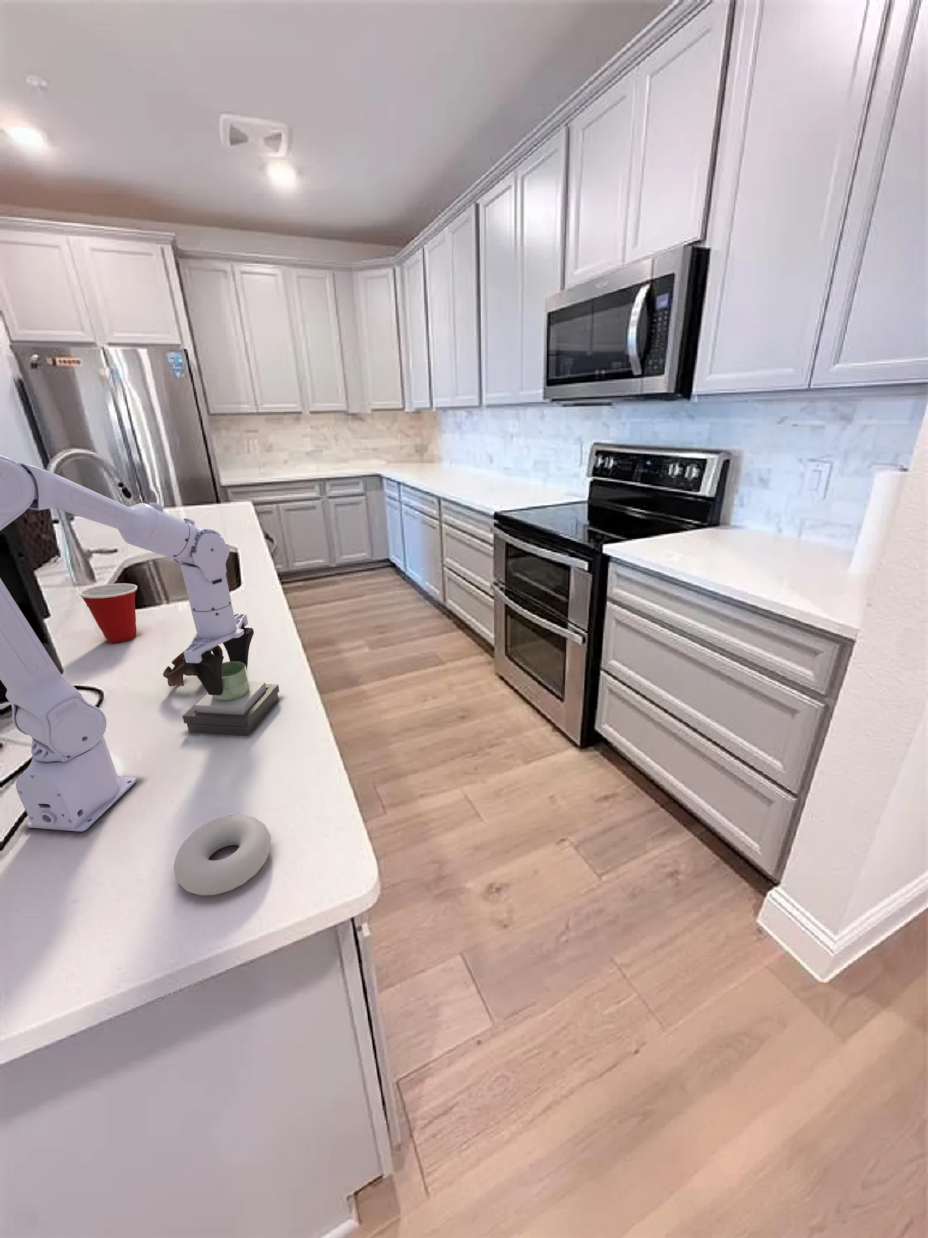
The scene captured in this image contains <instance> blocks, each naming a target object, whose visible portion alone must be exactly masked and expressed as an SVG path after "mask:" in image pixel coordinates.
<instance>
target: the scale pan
mask: <svg viewBox="0 0 928 1238" xmlns="http://www.w3.org/2000/svg"><path fill="white" fill-rule="evenodd" d="M249 684H250V688H249V690H248V691H247V693H246V694H245V695H244V696H242V697H240V698H238V699H235V700H231V701H219V700H217V699H215V698H213V696H212V695H209V694H207V693H206V694H205V695H204V696H203V697H201V699H200V700H198V701H197V702H198V703H197V702H196V703H197V704H196V703H195V704H194V705H195V708H196V712H197V713H212V714H232V715H244V714H245V713H246V712H247V711H248V710H249V709H250V708H251V707H252V706H253V704H254V703H255V702H256V701H257V700H258V699H259V698H260V697H261V696H262V695H263V693H264V692H265V691H266V690H267V689H266V684H267V683H266V682H264V681H249Z"/></svg>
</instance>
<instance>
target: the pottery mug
mask: <svg viewBox="0 0 928 1238" xmlns="http://www.w3.org/2000/svg"><path fill="white" fill-rule="evenodd" d="M210 652H211V654H212V653H213V655H214V656H224V651H223V649H222V647H221V646H220V644H219V645H217V646H216V647H214V648H213V649H212V650H210ZM183 657H184V652H183V651H182V652H181V653H179V655H177V656H176V657H175V658H174V659H172V661H171V664H172V665H173V668H171V666H169V665H168V666H166V668H165V669H164V670H163V672H162V676H163V677H164V678H165V679H166V680H167V686H168V687H176V686H177V685H179V686H182V687H185V683H184V676H186V677H192V676H193V677H197V676H196V675H195V674H194V673H193V672H192V671H191V670H190V669H189V668H188V667H186V666H185V665H184V663H183Z"/></svg>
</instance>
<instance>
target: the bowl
mask: <svg viewBox="0 0 928 1238" xmlns="http://www.w3.org/2000/svg"><path fill="white" fill-rule="evenodd" d="M222 682H223V693H222V694H221V695H212V696H213V698H215V699H217V700H219V701H231V700H235V699H238V698H240V697H242V696H244V695H245V694H246V693H247V691H248V690H249V688H250V684H249V682H250V679H249V674H248V669H247V670H246V665H245V664H244V663H243V662H239V661H230V660H229V661H223V662H222Z"/></svg>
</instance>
